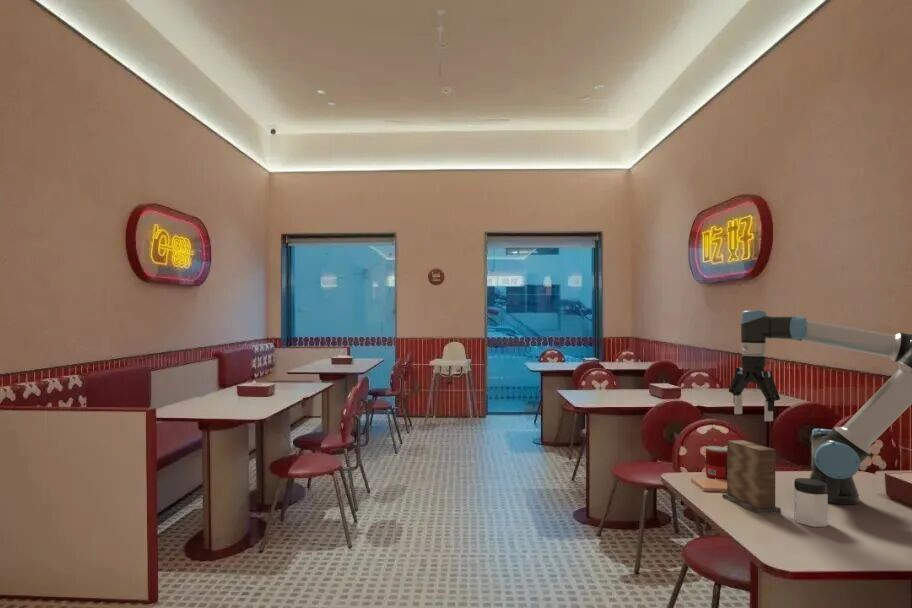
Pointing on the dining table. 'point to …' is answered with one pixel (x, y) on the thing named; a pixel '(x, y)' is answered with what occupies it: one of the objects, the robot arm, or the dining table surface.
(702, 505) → the dining table surface
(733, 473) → the wooden block
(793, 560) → the dining table surface
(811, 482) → the jar
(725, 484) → the terracotta tile
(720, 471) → the canned food
